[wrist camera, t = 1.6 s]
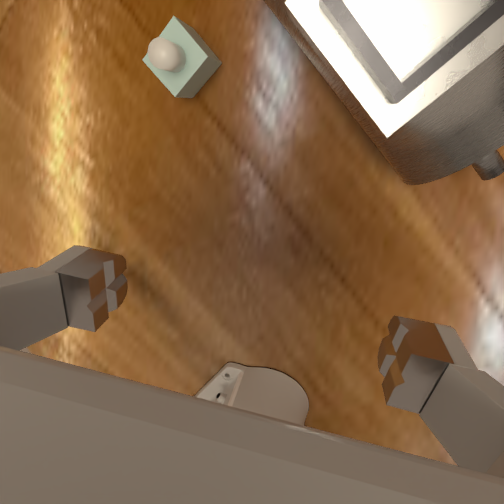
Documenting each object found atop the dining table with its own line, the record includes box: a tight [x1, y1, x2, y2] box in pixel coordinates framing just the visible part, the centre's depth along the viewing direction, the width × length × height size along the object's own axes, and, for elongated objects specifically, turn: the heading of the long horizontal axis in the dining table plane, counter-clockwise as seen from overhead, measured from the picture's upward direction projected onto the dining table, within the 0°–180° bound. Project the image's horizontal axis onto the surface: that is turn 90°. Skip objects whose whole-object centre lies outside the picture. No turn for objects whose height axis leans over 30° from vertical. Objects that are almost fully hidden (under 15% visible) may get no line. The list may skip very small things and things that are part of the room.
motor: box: [264, 0, 504, 185], centre depth 25 cm, size 12×26×16 cm, turn 43°
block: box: [143, 16, 222, 98], centre depth 32 cm, size 5×4×8 cm
